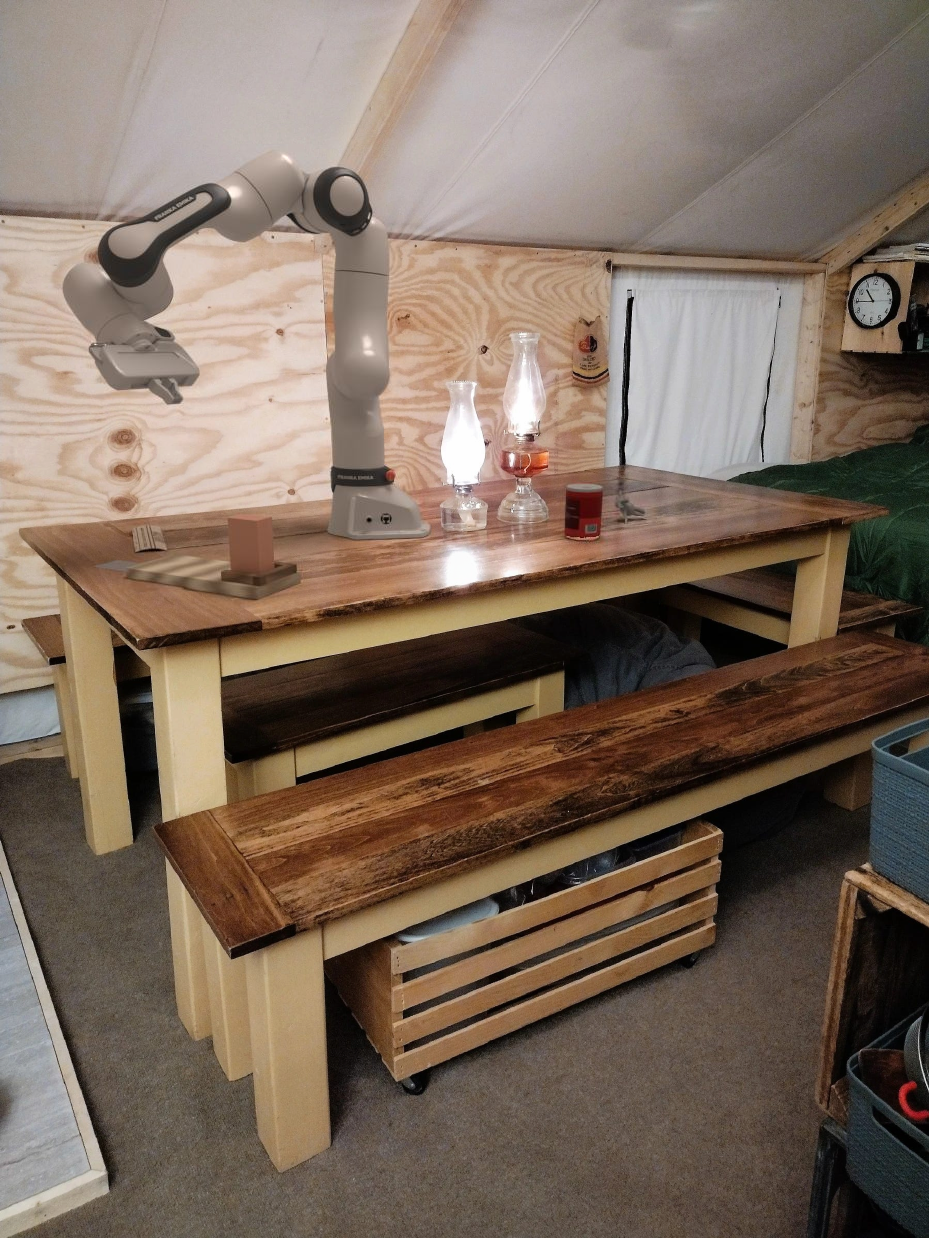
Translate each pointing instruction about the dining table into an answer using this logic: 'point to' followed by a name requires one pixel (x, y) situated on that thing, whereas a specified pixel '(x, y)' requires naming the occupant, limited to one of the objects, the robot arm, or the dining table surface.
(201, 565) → the rail deck
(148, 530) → the newspaper
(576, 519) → the canned food
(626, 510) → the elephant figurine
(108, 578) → the dining table surface
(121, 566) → the plate
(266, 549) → the block
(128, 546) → the dining table surface
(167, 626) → the dining table surface
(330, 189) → the robot arm
